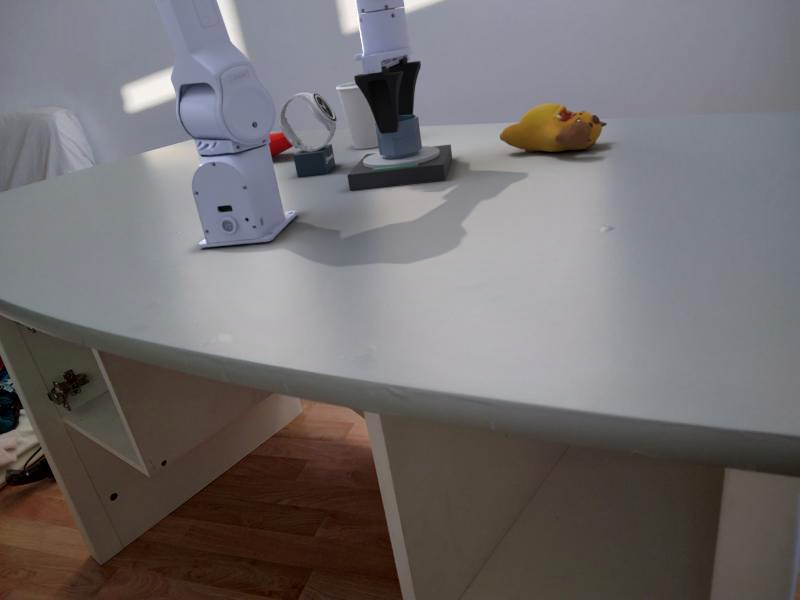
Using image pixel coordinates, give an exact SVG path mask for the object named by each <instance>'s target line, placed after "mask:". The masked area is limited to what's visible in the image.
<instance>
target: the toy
mask: <svg viewBox="0 0 800 600" xmlns="http://www.w3.org/2000/svg"><path fill="white" fill-rule="evenodd" d="M607 125H608V123H607V122H605V121H601V119H600V118H599V116H597V115H596V114H592V113H590V112H588V111H585V110H580V111H577V112H573V111H572V110H570V109H569V108H568V107H566V106H565V105H561V104H559V103H555V102H554V103H553V102H546V103H540V104H538V105H536V106H534V107H532V108H531V109H529V110H528V111H527V112H526V113H525V114H523V116H522V118H521V119H520V120H519V122H517V123H515V124H511V125H508V126H507V127H505V128H504V129H503V130H502V132H501V133H500V134H499V139H500V140H501V142H504V143H506V144H507V145H508V146H511V147H514V148H517V149H519V150H524V151H527V152H531V153H533V152H539V151H541V152H550V153H551V152H554V153H555V152H564V151H579V150H584V151H587V150H589V149H591V148H592V147H593V146H595V145H596V141H598V139H599V137H600V136H601V134H602V130H603V128H604V127H605V126H607Z"/></svg>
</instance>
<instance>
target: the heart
mask: <svg viewBox="0 0 800 600" xmlns="http://www.w3.org/2000/svg"><path fill="white" fill-rule="evenodd" d="M269 138H270V143H269V147H270V152H271V156H272V159H273V158H274V157H276V156H279V155H281V154H282V153H284V152H286V151H288V150H290V149H291V148H293V147H294V146H293V145H292V144H291V143H290V142H289V141H288V140H287V138H286V137H285V135H284V134H283V132H282V131H279V132H273V133H270V134H269Z"/></svg>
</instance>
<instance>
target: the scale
mask: <svg viewBox="0 0 800 600" xmlns="http://www.w3.org/2000/svg"><path fill="white" fill-rule="evenodd" d="M452 161H453V152H452V144H451V143H450V144H442V145H433V146H429V145H422V149H421V150H419V153H418V154H416V155H414V156H411V157H406V158H400V159H386V158H384V156H382V155H380V153H379V152H372V153H366V154H364V156H363V157H362V158H361V159H360V160H359V161H358V163H356V165H354V167H352V169H351V170H350V171H349V172H348V173H347V175H346V176H347V182H348V186H349V191H357V190H366V189H377V188H387V187H396V186H397V187H398V186H405V185H414V184H424V183H434V182H444V181H446V179H447V176H448V173H449V170H450V167H451V164H452Z"/></svg>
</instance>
